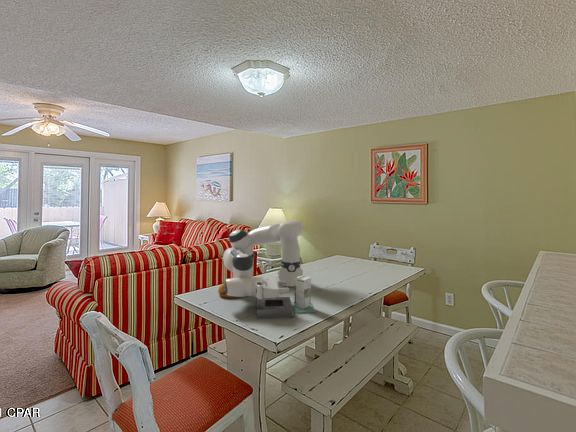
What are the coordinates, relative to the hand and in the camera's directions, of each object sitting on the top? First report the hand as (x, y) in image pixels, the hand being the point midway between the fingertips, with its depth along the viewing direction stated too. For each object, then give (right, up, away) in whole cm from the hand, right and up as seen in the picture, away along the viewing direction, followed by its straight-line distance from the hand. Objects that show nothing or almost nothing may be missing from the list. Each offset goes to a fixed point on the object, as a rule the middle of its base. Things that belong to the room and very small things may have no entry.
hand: (287, 286), depth 147 cm
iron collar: (-6, -11, -3) cm, 13 cm away
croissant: (-31, -9, +20) cm, 38 cm away
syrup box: (+7, -10, +2) cm, 13 cm away
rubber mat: (+7, -11, +2) cm, 13 cm away
